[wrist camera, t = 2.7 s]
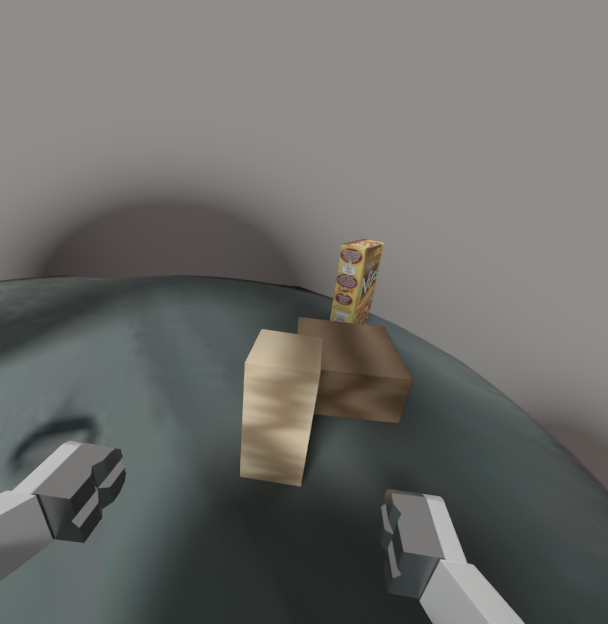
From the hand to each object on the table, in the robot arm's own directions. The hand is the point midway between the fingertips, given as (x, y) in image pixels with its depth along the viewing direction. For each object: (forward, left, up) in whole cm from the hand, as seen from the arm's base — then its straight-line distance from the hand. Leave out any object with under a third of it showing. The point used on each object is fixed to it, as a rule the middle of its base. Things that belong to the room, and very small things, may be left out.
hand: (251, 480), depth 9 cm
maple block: (0, +12, -14) cm, 18 cm away
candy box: (+8, +40, -14) cm, 43 cm away
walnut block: (+6, +24, -14) cm, 29 cm away
